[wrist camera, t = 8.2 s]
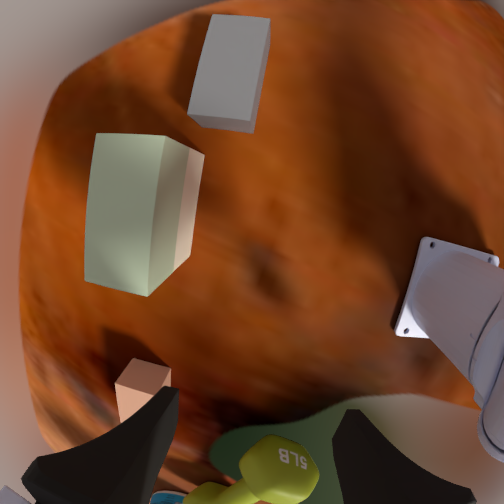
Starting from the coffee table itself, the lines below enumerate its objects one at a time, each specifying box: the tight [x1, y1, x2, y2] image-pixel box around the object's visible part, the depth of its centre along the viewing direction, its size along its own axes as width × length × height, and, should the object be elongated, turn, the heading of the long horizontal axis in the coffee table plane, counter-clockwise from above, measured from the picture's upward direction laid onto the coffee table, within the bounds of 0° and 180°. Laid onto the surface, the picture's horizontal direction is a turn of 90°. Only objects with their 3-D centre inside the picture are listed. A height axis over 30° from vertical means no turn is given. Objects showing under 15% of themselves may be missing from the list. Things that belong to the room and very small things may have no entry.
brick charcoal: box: [187, 14, 270, 134], centre depth 16 cm, size 4×7×4 cm, turn 170°
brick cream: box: [173, 148, 205, 271], centre depth 17 cm, size 4×7×4 cm, turn 171°
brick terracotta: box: [115, 358, 171, 423], centre depth 21 cm, size 4×7×4 cm, turn 171°
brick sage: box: [85, 133, 190, 297], centre depth 14 cm, size 4×7×4 cm, turn 170°
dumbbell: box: [183, 434, 319, 504], centre depth 22 cm, size 16×8×7 cm, turn 146°
